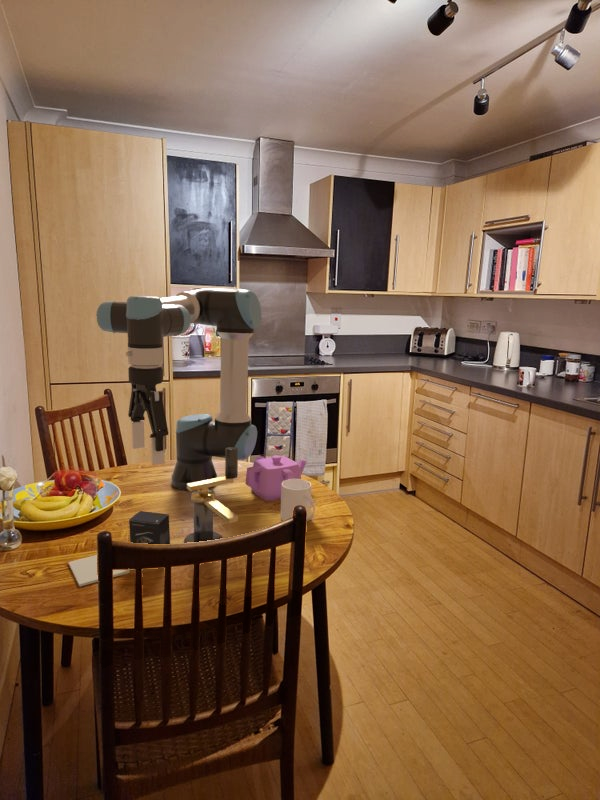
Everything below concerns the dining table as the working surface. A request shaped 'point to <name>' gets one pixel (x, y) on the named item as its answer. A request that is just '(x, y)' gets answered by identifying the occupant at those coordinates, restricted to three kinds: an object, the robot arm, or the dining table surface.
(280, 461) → the teakettle
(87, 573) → the pad
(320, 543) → the dining table surface
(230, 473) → the crank
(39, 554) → the dining table surface
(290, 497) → the mug
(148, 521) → the box
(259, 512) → the dining table surface
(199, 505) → the post
